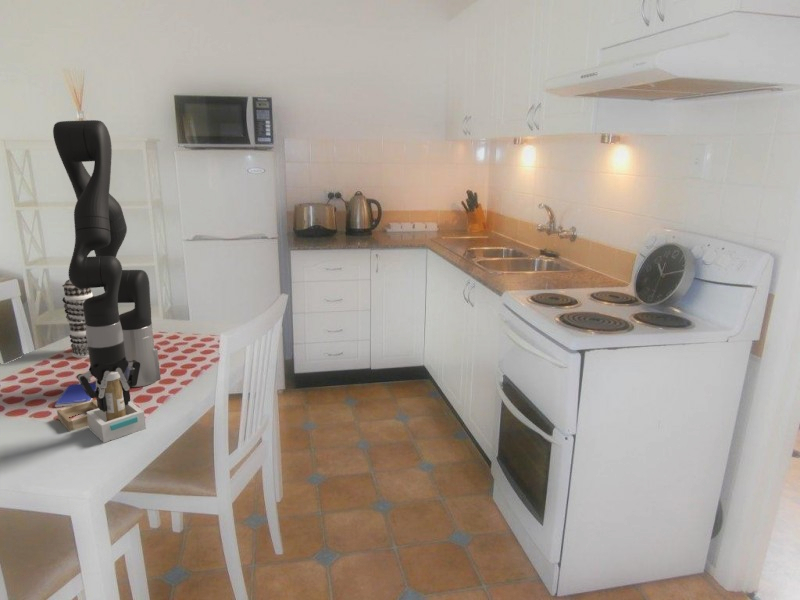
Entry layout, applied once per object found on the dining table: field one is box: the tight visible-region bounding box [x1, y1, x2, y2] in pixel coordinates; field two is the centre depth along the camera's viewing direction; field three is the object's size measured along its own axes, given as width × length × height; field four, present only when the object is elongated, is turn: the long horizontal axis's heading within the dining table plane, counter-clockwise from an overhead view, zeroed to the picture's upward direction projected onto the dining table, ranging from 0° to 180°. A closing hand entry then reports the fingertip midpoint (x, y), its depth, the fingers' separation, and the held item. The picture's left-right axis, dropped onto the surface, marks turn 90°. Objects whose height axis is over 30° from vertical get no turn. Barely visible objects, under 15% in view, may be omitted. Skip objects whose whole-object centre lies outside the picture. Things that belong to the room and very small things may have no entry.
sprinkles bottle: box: [104, 371, 126, 422], centre depth 133 cm, size 5×5×13 cm
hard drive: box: [54, 382, 96, 408], centre depth 152 cm, size 2×8×12 cm
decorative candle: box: [61, 278, 95, 359], centre depth 179 cm, size 9×9×25 cm
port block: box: [86, 400, 147, 444], centre depth 134 cm, size 10×10×4 cm
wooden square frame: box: [56, 399, 98, 432], centre depth 139 cm, size 9×9×2 cm
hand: (114, 406), depth 133 cm, fingers closed on sprinkles bottle, 4 cm apart
